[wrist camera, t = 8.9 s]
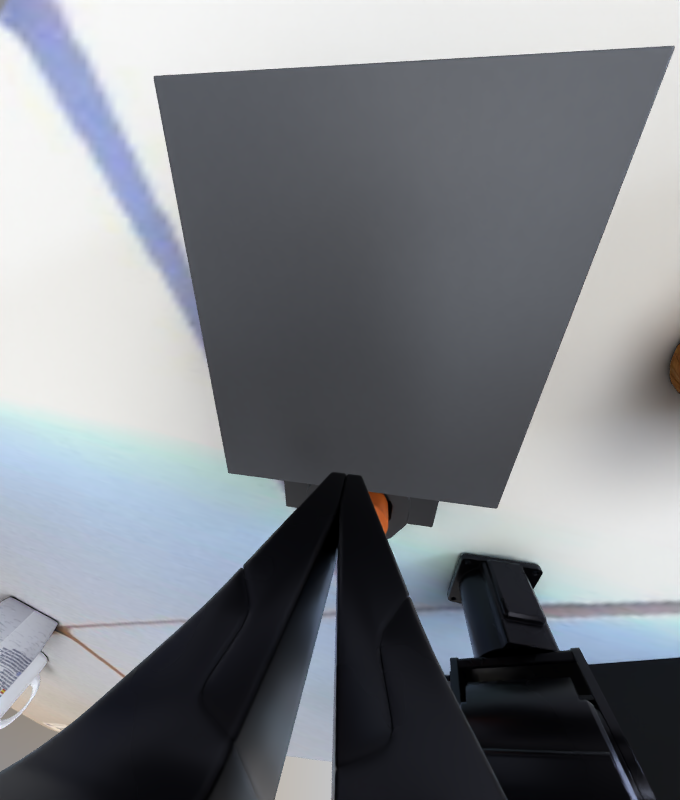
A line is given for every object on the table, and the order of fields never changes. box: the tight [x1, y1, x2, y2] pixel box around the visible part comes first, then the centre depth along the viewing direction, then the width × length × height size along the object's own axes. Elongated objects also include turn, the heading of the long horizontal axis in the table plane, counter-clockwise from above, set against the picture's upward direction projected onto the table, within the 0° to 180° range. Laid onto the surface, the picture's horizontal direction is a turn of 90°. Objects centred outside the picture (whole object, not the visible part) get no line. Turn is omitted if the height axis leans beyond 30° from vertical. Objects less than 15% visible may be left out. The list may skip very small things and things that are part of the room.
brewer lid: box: [154, 46, 674, 508], centre depth 10 cm, size 14×12×1 cm
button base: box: [284, 481, 439, 539], centre depth 20 cm, size 10×12×3 cm
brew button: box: [369, 492, 388, 534], centre depth 19 cm, size 4×4×2 cm
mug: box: [0, 651, 47, 729], centre depth 50 cm, size 9×12×11 cm
